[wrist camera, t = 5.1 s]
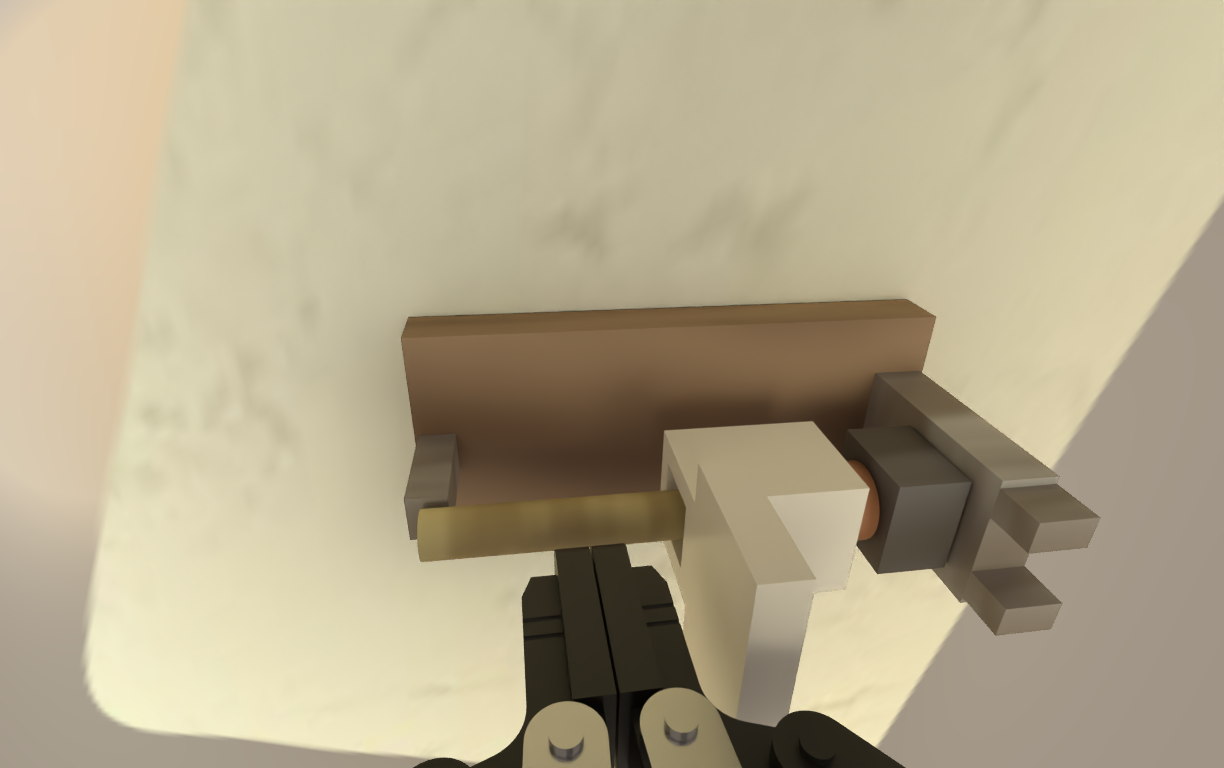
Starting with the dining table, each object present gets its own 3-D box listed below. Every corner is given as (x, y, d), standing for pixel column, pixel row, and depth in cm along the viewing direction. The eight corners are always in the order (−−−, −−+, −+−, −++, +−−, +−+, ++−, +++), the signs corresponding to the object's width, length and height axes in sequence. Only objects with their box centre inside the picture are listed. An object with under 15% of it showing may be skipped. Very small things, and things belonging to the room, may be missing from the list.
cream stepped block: (666, 395, 16) (757, 585, 10) (818, 387, 17) (986, 562, 11) (656, 552, 18) (726, 779, 12) (790, 540, 19) (917, 752, 13)
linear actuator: (408, 317, 18) (342, 496, 10) (907, 299, 20) (1140, 439, 13) (435, 520, 21) (399, 766, 14) (863, 487, 23) (1029, 685, 16)
